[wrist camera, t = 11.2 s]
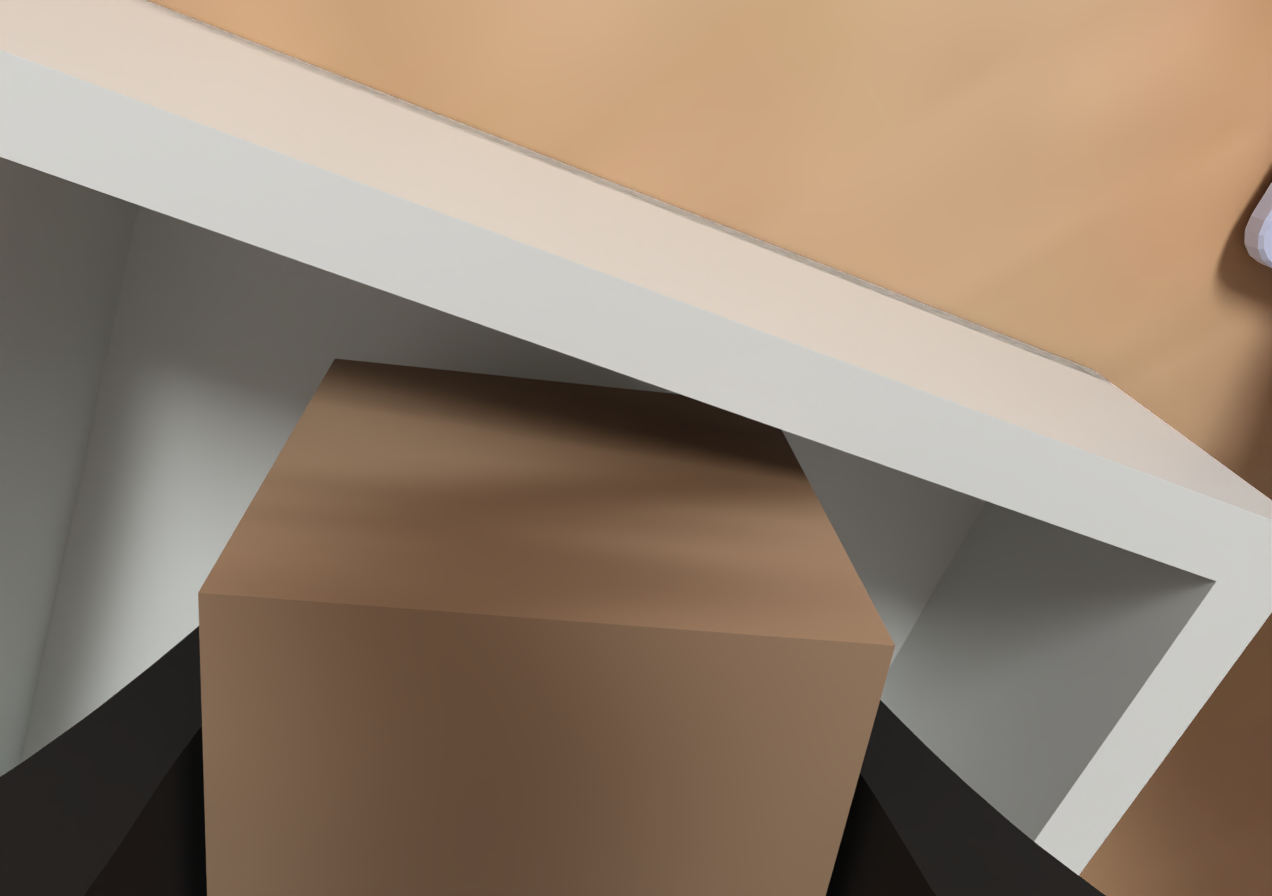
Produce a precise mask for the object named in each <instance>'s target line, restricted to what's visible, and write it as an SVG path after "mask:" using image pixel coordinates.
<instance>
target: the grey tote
mask: <svg viewBox="0 0 1272 896" xmlns="http://www.w3.org/2000/svg"><path fill="white" fill-rule="evenodd" d="M335 358H336V359H345V360H355V361H365V362H374V363H384V364H393V365H403V366H413V367H422V368H432V369H441V370H451V371H461V372H470V373H480V374H489V375H499V376H509V377H518V378H528V379H537V380H547V381H557V382H566V383H576V384H585V385H595V386H605V387H614V388H624V389H634V390H643V391H653V392H662V393H672V394H681V395H684V396H687V397H690V398H693V399H696V400H698V401H701V402H704V403H707V404H710V405H713V406H716V407H718V408H721V409H724V410H727V411H730V412H733V413H736V414H739V415H741V416H744V417H747V418H750V419H753V420H756V421H759V422H761V423H764V424H767V425H770V426H773V427H776V428H779V429H781V430H782V432H783V434H784V435H785V437H786V439H787V441H788V443H789V445H790V447H791V449H792V451H793V452H794V454H795V456H796V458H797V460H798V462H799V464H800V466H801V468H802V470H803V471H804V473H805V475H806V477H807V479H808V481H809V483H810V485H811V487H812V489H813V490H814V492H815V494H816V496H817V498H818V500H819V502H820V504H821V506H822V508H823V509H824V511H825V513H826V515H827V517H828V519H829V521H830V523H831V525H832V527H833V528H834V530H835V532H836V534H837V536H838V538H839V540H840V542H841V544H842V546H843V547H844V549H845V551H846V553H847V555H848V557H849V559H850V561H851V563H852V564H853V566H854V568H855V570H856V572H857V574H858V576H859V578H860V580H861V582H862V583H863V585H864V587H865V589H866V591H867V593H868V595H869V597H870V599H871V601H872V602H873V604H874V606H875V608H876V610H877V612H878V614H879V616H880V618H881V620H882V621H883V623H884V625H885V627H886V629H887V631H888V633H889V635H890V637H891V639H892V640H893V642H894V644H895V648H894V652H893V656H892V659H891V663H890V666H889V670H888V674H887V677H886V681H885V684H884V688H883V692H882V695H881V699H880V700H881V701H882V702H883V703H884V704H885V705H886V706H887V707H888V708H889V709H890V710H891V711H892V712H893V713H894V714H895V715H896V716H897V717H898V718H899V719H900V720H901V721H902V722H903V723H904V724H905V725H906V726H907V727H908V728H909V729H910V730H911V731H912V732H913V733H914V734H915V735H916V736H917V737H918V738H919V739H920V740H921V741H922V742H923V743H924V744H925V745H926V746H927V747H928V748H929V749H930V750H931V751H932V752H933V753H934V754H935V755H937V756H938V757H939V758H940V759H941V760H942V761H943V762H944V763H945V764H946V765H947V766H948V767H949V768H950V769H951V770H952V771H954V772H955V773H956V774H957V775H958V776H959V777H960V778H961V779H962V780H963V781H964V782H965V783H966V784H968V785H969V786H970V787H971V788H972V789H973V790H974V791H976V792H977V793H978V794H979V795H980V796H981V797H982V798H984V799H985V800H986V801H987V802H988V803H989V804H990V805H992V806H993V807H994V808H995V809H996V810H997V811H998V812H1000V813H1001V814H1002V815H1003V816H1004V817H1005V818H1006V819H1008V820H1009V821H1010V822H1011V823H1012V824H1013V825H1015V826H1016V827H1017V828H1018V829H1019V830H1021V831H1022V832H1023V833H1024V834H1026V835H1027V836H1028V837H1029V838H1030V839H1032V840H1033V841H1034V842H1035V843H1037V844H1038V845H1039V846H1040V847H1042V848H1043V849H1044V850H1046V851H1047V852H1048V853H1049V854H1051V855H1052V856H1053V857H1055V858H1056V859H1057V860H1059V861H1060V862H1061V863H1063V864H1064V865H1065V866H1067V867H1068V868H1069V869H1071V870H1072V871H1073V872H1075V873H1076V874H1077V875H1079V874H1080V873H1081V872H1082V870H1083V869H1084V868H1085V866H1086V865H1087V864H1088V862H1089V861H1090V859H1091V858H1092V857H1093V855H1094V854H1095V853H1096V851H1097V850H1098V849H1099V847H1100V846H1101V844H1102V843H1103V842H1104V840H1105V839H1106V838H1107V836H1108V835H1109V834H1110V832H1111V831H1112V829H1113V828H1114V827H1115V825H1116V824H1117V823H1118V821H1119V820H1120V819H1121V817H1122V816H1123V814H1124V813H1125V812H1126V810H1127V809H1128V808H1129V806H1130V805H1131V804H1132V802H1133V801H1134V799H1135V798H1136V797H1137V795H1138V794H1139V793H1140V791H1141V790H1142V789H1143V787H1144V786H1145V784H1146V783H1147V782H1148V780H1149V779H1150V778H1151V776H1152V775H1153V774H1154V772H1155V771H1156V769H1157V768H1158V767H1159V765H1160V764H1161V763H1162V761H1163V760H1164V759H1165V757H1166V756H1167V754H1168V753H1169V752H1170V750H1171V749H1172V748H1173V746H1174V745H1175V744H1176V742H1177V741H1178V739H1179V738H1180V737H1181V735H1182V734H1183V733H1184V731H1185V730H1186V729H1187V727H1188V726H1189V724H1190V723H1191V722H1192V720H1193V719H1194V718H1195V716H1196V715H1197V714H1198V712H1199V711H1200V709H1201V708H1202V707H1203V705H1204V704H1205V703H1206V701H1207V700H1208V699H1209V697H1210V696H1211V694H1212V693H1213V692H1214V690H1215V689H1216V688H1217V686H1218V685H1219V684H1220V682H1221V681H1222V680H1223V678H1224V677H1225V675H1226V674H1227V673H1228V671H1229V670H1230V669H1231V667H1232V666H1233V665H1234V663H1235V662H1236V660H1237V659H1238V658H1239V656H1240V655H1241V654H1242V652H1243V651H1244V650H1245V648H1246V647H1247V645H1248V644H1249V643H1250V641H1251V640H1252V639H1253V637H1254V636H1255V635H1256V633H1257V632H1258V630H1259V629H1260V628H1261V626H1262V625H1263V624H1264V622H1265V621H1266V620H1267V618H1268V617H1269V615H1270V614H1271V613H1272V500H1271V499H1269V498H1268V497H1267V496H1265V495H1264V494H1262V493H1261V492H1260V491H1258V490H1257V489H1256V488H1254V487H1253V486H1251V485H1250V484H1249V483H1247V482H1246V481H1245V480H1243V479H1242V478H1241V477H1239V476H1238V475H1236V474H1235V473H1234V472H1232V471H1231V470H1230V469H1228V468H1227V467H1226V466H1224V465H1223V464H1221V463H1220V462H1219V461H1217V460H1216V459H1215V458H1213V457H1212V456H1210V455H1209V454H1208V453H1206V452H1205V451H1204V450H1202V449H1201V448H1200V447H1198V446H1197V445H1195V444H1194V443H1193V442H1191V441H1190V440H1189V439H1187V438H1186V437H1185V436H1183V435H1182V434H1180V433H1179V432H1178V431H1176V430H1175V429H1174V428H1172V427H1171V426H1170V425H1168V424H1167V423H1165V422H1164V421H1163V420H1161V419H1160V418H1159V417H1157V416H1156V415H1154V414H1153V413H1152V412H1150V411H1149V410H1148V409H1146V408H1145V407H1144V406H1142V405H1141V404H1139V403H1138V402H1137V401H1135V400H1134V399H1133V398H1131V397H1130V396H1129V395H1127V394H1126V393H1124V392H1123V391H1122V390H1120V389H1119V388H1118V387H1116V386H1115V385H1113V384H1112V383H1111V382H1109V381H1108V380H1107V379H1105V378H1104V377H1103V376H1101V375H1100V374H1098V373H1097V372H1096V371H1094V370H1093V369H1090V368H1088V367H1085V366H1082V365H1080V364H1077V363H1075V362H1072V361H1070V360H1067V359H1065V358H1062V357H1059V356H1057V355H1054V354H1052V353H1049V352H1047V351H1044V350H1041V349H1039V348H1036V347H1034V346H1031V345H1029V344H1026V343H1024V342H1021V341H1018V340H1016V339H1013V338H1011V337H1008V336H1006V335H1003V334H1001V333H998V332H995V331H993V330H990V329H988V328H985V327H983V326H980V325H977V324H975V323H972V322H970V321H967V320H965V319H962V318H960V317H957V316H954V315H952V314H949V313H947V312H944V311H942V310H939V309H936V308H934V307H931V306H929V305H926V304H924V303H921V302H919V301H916V300H913V299H911V298H908V297H906V296H903V295H901V294H898V293H895V292H893V291H890V290H888V289H885V288H883V287H880V286H878V285H875V284H872V283H870V282H867V281H865V280H862V279H860V278H857V277H855V276H852V275H849V274H847V273H844V272H842V271H839V270H837V269H834V268H831V267H829V266H826V265H824V264H821V263H819V262H816V261H814V260H811V259H808V258H806V257H803V256H801V255H798V254H796V253H793V252H790V251H788V250H785V249H783V248H780V247H778V246H775V245H773V244H770V243H767V242H765V241H762V240H760V239H757V238H755V237H752V236H749V235H747V234H744V233H742V232H739V231H737V230H734V229H732V228H729V227H726V226H724V225H721V224H719V223H716V222H714V221H711V220H709V219H706V218H703V217H701V216H698V215H696V214H693V213H691V212H688V211H685V210H683V209H680V208H678V207H675V206H673V205H670V204H668V203H665V202H662V201H660V200H657V199H655V198H652V197H650V196H647V195H644V194H642V193H639V192H637V191H634V190H632V189H629V188H627V187H624V186H621V185H619V184H616V183H614V182H611V181H609V180H606V179H603V178H601V177H598V176H596V175H593V174H591V173H588V172H586V171H583V170H580V169H578V168H575V167H573V166H570V165H568V164H565V163H563V162H560V161H557V160H555V159H552V158H550V157H547V156H545V155H542V154H539V153H537V152H534V151H532V150H529V149H527V148H524V147H522V146H519V145H516V144H514V143H511V142H509V141H506V140H504V139H501V138H498V137H496V136H493V135H491V134H488V133H486V132H483V131H481V130H478V129H475V128H473V127H470V126H468V125H465V124H463V123H460V122H457V121H455V120H452V119H450V118H447V117H445V116H442V115H440V114H437V113H434V112H432V111H429V110H427V109H424V108H422V107H419V106H417V105H414V104H411V103H409V102H406V101H404V100H401V99H399V98H396V97H393V96H391V95H388V94H386V93H383V92H381V91H378V90H376V89H373V88H370V87H368V86H365V85H363V84H360V83H358V82H355V81H352V80H350V79H347V78H345V77H342V76H340V75H337V74H335V73H332V72H329V71H327V70H324V69H322V68H319V67H317V66H314V65H311V64H309V63H306V62H304V61H301V60H299V59H296V58H294V57H291V56H288V55H286V54H283V53H281V52H278V51H276V50H273V49H271V48H268V47H265V46H263V45H260V44H258V43H255V42H253V41H250V40H247V39H245V38H242V37H240V36H237V35H235V34H232V33H230V32H227V31H224V30H222V29H219V28H217V27H214V26H212V25H209V24H206V23H204V22H201V21H199V20H196V19H194V18H191V17H189V16H186V15H183V14H181V13H178V12H176V11H173V10H171V9H168V8H165V7H163V6H160V5H158V4H155V3H153V2H150V1H148V0H0V777H1V776H2V775H4V774H5V773H7V772H8V771H10V770H11V769H13V768H14V767H16V766H17V765H19V764H20V763H22V762H24V761H25V760H26V759H28V758H29V757H31V756H32V755H33V754H35V753H36V752H38V751H39V750H40V749H42V748H43V747H45V746H46V745H47V744H49V743H50V742H52V741H53V740H54V739H56V738H57V737H58V736H60V735H61V734H63V733H64V732H65V731H67V730H68V729H70V728H71V727H72V726H74V725H75V724H77V723H78V722H79V721H81V720H82V719H84V718H85V717H86V716H88V715H89V714H90V713H92V712H93V711H94V710H96V709H97V708H98V707H100V706H101V705H102V704H103V703H105V702H106V701H107V700H108V699H110V698H111V697H112V696H113V695H115V694H116V693H117V692H119V691H120V690H121V689H122V688H124V687H125V686H126V685H127V684H129V683H130V682H131V681H132V680H134V679H135V678H136V677H137V676H139V675H140V674H141V673H142V672H144V671H145V670H146V669H148V668H149V667H150V666H151V665H152V664H154V663H155V662H156V661H157V660H158V659H160V658H161V657H162V656H163V655H165V654H166V653H167V652H168V651H169V650H171V649H172V648H173V647H174V646H175V645H177V644H178V643H179V642H180V641H181V640H182V639H184V638H185V637H186V636H187V635H188V634H190V633H191V632H192V631H193V630H194V629H195V628H197V627H198V626H199V606H198V592H199V590H200V589H201V587H202V585H203V584H204V582H205V580H206V578H207V577H208V575H209V573H210V572H211V570H212V568H213V566H214V565H215V563H216V561H217V560H218V558H219V556H220V554H221V553H222V551H223V549H224V548H225V546H226V544H227V542H228V541H229V539H230V537H231V536H232V534H233V532H234V530H235V529H236V527H237V525H238V524H239V522H240V520H241V519H242V517H243V515H244V513H245V512H246V510H247V508H248V507H249V505H250V503H251V501H252V500H253V498H254V496H255V495H256V493H257V491H258V489H259V488H260V486H261V484H262V483H263V481H264V479H265V477H266V476H267V474H268V472H269V471H270V469H271V467H272V465H273V464H274V462H275V460H276V459H277V457H278V455H279V453H280V452H281V450H282V448H283V447H284V445H285V443H286V442H287V440H288V438H289V436H290V435H291V433H292V431H293V430H294V428H295V426H296V424H297V423H298V421H299V419H300V418H301V416H302V414H303V412H304V411H305V409H306V407H307V406H308V404H309V402H310V400H311V399H312V397H313V395H314V394H315V392H316V390H317V388H318V387H319V385H320V383H321V382H322V380H323V378H324V376H325V375H326V373H327V371H328V370H329V368H330V366H331V365H332V363H333V361H334V359H335Z"/></svg>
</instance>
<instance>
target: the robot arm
mask: <svg viewBox="0 0 1272 896" xmlns="http://www.w3.org/2000/svg"><path fill="white" fill-rule="evenodd" d="M1244 244H1245V246H1246V249H1247V251H1248V253H1249V256H1251V257H1252V258H1253V259H1255V260H1256V261H1257V262H1258V263H1260V264H1263V265H1265V266H1267V267H1270V268H1272V182H1271V184H1270V186H1269V187H1268V189H1267V190H1266V192H1265V194H1264V195H1263V197H1262V199H1261V200H1260V202H1259V203H1258V205H1257V207H1256V208H1255V210H1254V211H1253V213H1252V215H1251V217H1250V219H1249V221H1248V224H1247V226H1246V229H1245V241H1244ZM0 896H207V874H206V840H205V807H204V773H203V740H202V706H201V673H200V639H199V626H198V627H197V628H195V629H194V630H193V631H192V632H191V633H190V634H188V635H187V636H186V637H185V638H184V639H182V640H181V641H180V642H179V643H178V644H177V645H175V646H174V647H173V648H172V649H171V650H169V651H168V652H167V653H166V654H165V655H163V656H162V657H161V658H160V659H158V660H157V661H156V662H155V663H154V664H152V665H151V666H150V667H149V668H148V669H146V670H145V671H144V672H142V673H141V674H140V675H139V676H137V677H136V678H135V679H134V680H132V681H131V682H130V683H129V684H127V685H126V686H125V687H124V688H122V689H121V690H120V691H119V692H117V693H116V694H115V695H113V696H112V697H111V698H110V699H108V700H107V701H106V702H105V703H103V704H102V705H101V706H100V707H98V708H97V709H96V710H94V711H93V712H92V713H90V714H89V715H88V716H86V717H85V718H84V719H82V720H81V721H79V722H78V723H77V724H75V725H74V726H72V727H71V728H70V729H68V730H67V731H65V732H64V733H63V734H61V735H60V736H58V737H57V738H56V739H54V740H53V741H52V742H50V743H49V744H47V745H46V746H45V747H43V748H42V749H40V750H39V751H38V752H36V753H35V754H33V755H32V756H31V757H29V758H28V759H26V760H25V761H24V762H22V763H20V764H19V765H17V766H16V767H14V768H13V769H11V770H10V771H8V772H7V773H5V774H4V775H2V776H1V777H0ZM826 896H1105V895H1104V894H1103V893H1101V892H1100V891H1098V890H1097V889H1096V888H1094V887H1093V886H1092V885H1090V884H1089V883H1088V882H1086V881H1085V880H1084V879H1082V878H1081V877H1080V876H1079V875H1077V874H1076V873H1075V872H1073V871H1072V870H1071V869H1069V868H1068V867H1067V866H1065V865H1064V864H1063V863H1061V862H1060V861H1059V860H1057V859H1056V858H1055V857H1053V856H1052V855H1051V854H1049V853H1048V852H1047V851H1046V850H1044V849H1043V848H1042V847H1040V846H1039V845H1038V844H1037V843H1035V842H1034V841H1033V840H1032V839H1030V838H1029V837H1028V836H1027V835H1026V834H1024V833H1023V832H1022V831H1021V830H1019V829H1018V828H1017V827H1016V826H1015V825H1013V824H1012V823H1011V822H1010V821H1009V820H1008V819H1006V818H1005V817H1004V816H1003V815H1002V814H1001V813H1000V812H998V811H997V810H996V809H995V808H994V807H993V806H992V805H990V804H989V803H988V802H987V801H986V800H985V799H984V798H982V797H981V796H980V795H979V794H978V793H977V792H976V791H974V790H973V789H972V788H971V787H970V786H969V785H968V784H966V783H965V782H964V781H963V780H962V779H961V778H960V777H959V776H958V775H957V774H956V773H955V772H954V771H952V770H951V769H950V768H949V767H948V766H947V765H946V764H945V763H944V762H943V761H942V760H941V759H940V758H939V757H938V756H937V755H935V754H934V753H933V752H932V751H931V750H930V749H929V748H928V747H927V746H926V745H925V744H924V743H923V742H922V741H921V740H920V739H919V738H918V737H917V736H916V735H915V734H914V733H913V732H912V731H911V730H910V729H909V728H908V727H907V726H906V725H905V724H904V723H903V722H902V721H901V720H900V719H899V718H898V717H897V716H896V715H895V714H894V713H893V712H892V711H891V710H890V709H889V708H888V707H887V706H886V705H885V704H884V703H883V702H882V701H881V700H880V702H879V706H878V710H877V713H876V717H875V720H874V724H873V727H872V731H871V735H870V738H869V742H868V745H867V749H866V753H865V756H864V760H863V763H862V767H861V771H860V774H859V778H858V781H857V785H856V789H855V792H854V796H853V799H852V803H851V807H850V810H849V814H848V817H847V821H846V825H845V828H844V832H843V835H842V839H841V842H840V846H839V850H838V853H837V857H836V860H835V864H834V868H833V871H832V875H831V878H830V882H829V886H828V889H827V893H826Z"/></svg>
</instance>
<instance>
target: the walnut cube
mask: <svg viewBox="0 0 1272 896" xmlns="http://www.w3.org/2000/svg"><path fill="white" fill-rule="evenodd" d="M198 606H199V639H200V673H201V706H202V740H203V773H204V807H205V840H206V874H207V896H826V893H827V889H828V886H829V882H830V878H831V875H832V871H833V868H834V864H835V860H836V857H837V853H838V850H839V846H840V842H841V839H842V835H843V832H844V828H845V825H846V821H847V817H848V814H849V810H850V807H851V803H852V799H853V796H854V792H855V789H856V785H857V781H858V778H859V774H860V771H861V767H862V763H863V760H864V756H865V753H866V749H867V745H868V742H869V738H870V735H871V731H872V727H873V724H874V720H875V717H876V713H877V710H878V706H879V702H880V699H881V695H882V692H883V688H884V684H885V681H886V677H887V674H888V670H889V666H890V663H891V659H892V656H893V652H894V648H895V644H894V642H893V640H892V639H891V637H890V635H889V633H888V631H887V629H886V627H885V625H884V623H883V621H882V620H881V618H880V616H879V614H878V612H877V610H876V608H875V606H874V604H873V602H872V601H871V599H870V597H869V595H868V593H867V591H866V589H865V587H864V585H863V583H862V582H861V580H860V578H859V576H858V574H857V572H856V570H855V568H854V566H853V564H852V563H851V561H850V559H849V557H848V555H847V553H846V551H845V549H844V547H843V546H842V544H841V542H840V540H839V538H838V536H837V534H836V532H835V530H834V528H833V527H832V525H831V523H830V521H829V519H828V517H827V515H826V513H825V511H824V509H823V508H822V506H821V504H820V502H819V500H818V498H817V496H816V494H815V492H814V490H813V489H812V487H811V485H810V483H809V481H808V479H807V477H806V475H805V473H804V471H803V470H802V468H801V466H800V464H799V462H798V460H797V458H796V456H795V454H794V452H793V451H792V449H791V447H790V445H789V443H788V441H787V439H786V437H785V435H784V434H783V432H782V430H781V429H779V428H776V427H773V426H770V425H767V424H764V423H761V422H759V421H756V420H753V419H750V418H747V417H744V416H741V415H739V414H736V413H733V412H730V411H727V410H724V409H721V408H718V407H716V406H713V405H710V404H707V403H704V402H701V401H698V400H696V399H693V398H690V397H687V396H684V395H681V394H672V393H662V392H653V391H643V390H634V389H624V388H614V387H605V386H595V385H585V384H576V383H566V382H557V381H547V380H537V379H528V378H518V377H509V376H499V375H489V374H480V373H470V372H461V371H451V370H441V369H432V368H422V367H413V366H403V365H393V364H384V363H374V362H365V361H355V360H345V359H336V358H335V359H334V361H333V363H332V365H331V366H330V368H329V370H328V371H327V373H326V375H325V376H324V378H323V380H322V382H321V383H320V385H319V387H318V388H317V390H316V392H315V394H314V395H313V397H312V399H311V400H310V402H309V404H308V406H307V407H306V409H305V411H304V412H303V414H302V416H301V418H300V419H299V421H298V423H297V424H296V426H295V428H294V430H293V431H292V433H291V435H290V436H289V438H288V440H287V442H286V443H285V445H284V447H283V448H282V450H281V452H280V453H279V455H278V457H277V459H276V460H275V462H274V464H273V465H272V467H271V469H270V471H269V472H268V474H267V476H266V477H265V479H264V481H263V483H262V484H261V486H260V488H259V489H258V491H257V493H256V495H255V496H254V498H253V500H252V501H251V503H250V505H249V507H248V508H247V510H246V512H245V513H244V515H243V517H242V519H241V520H240V522H239V524H238V525H237V527H236V529H235V530H234V532H233V534H232V536H231V537H230V539H229V541H228V542H227V544H226V546H225V548H224V549H223V551H222V553H221V554H220V556H219V558H218V560H217V561H216V563H215V565H214V566H213V568H212V570H211V572H210V573H209V575H208V577H207V578H206V580H205V582H204V584H203V585H202V587H201V589H200V590H199V592H198Z"/></svg>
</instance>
